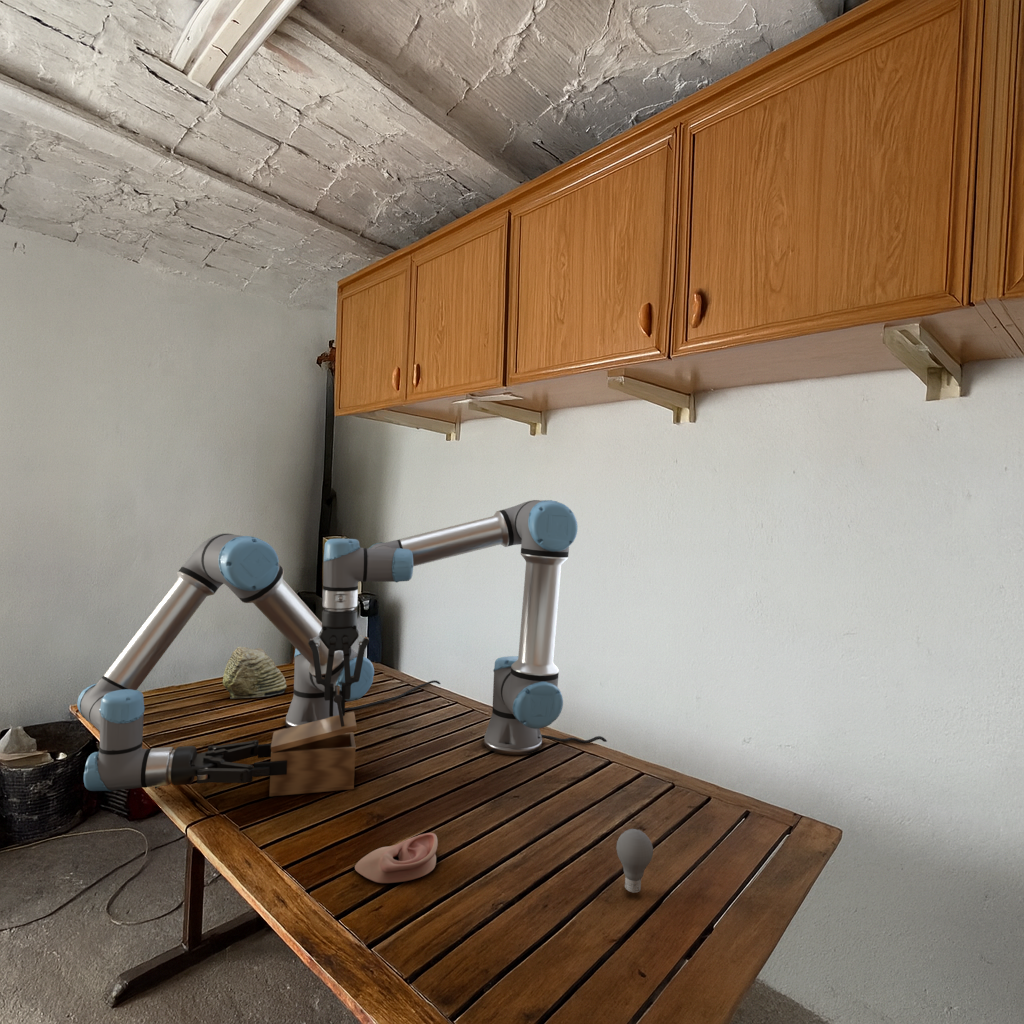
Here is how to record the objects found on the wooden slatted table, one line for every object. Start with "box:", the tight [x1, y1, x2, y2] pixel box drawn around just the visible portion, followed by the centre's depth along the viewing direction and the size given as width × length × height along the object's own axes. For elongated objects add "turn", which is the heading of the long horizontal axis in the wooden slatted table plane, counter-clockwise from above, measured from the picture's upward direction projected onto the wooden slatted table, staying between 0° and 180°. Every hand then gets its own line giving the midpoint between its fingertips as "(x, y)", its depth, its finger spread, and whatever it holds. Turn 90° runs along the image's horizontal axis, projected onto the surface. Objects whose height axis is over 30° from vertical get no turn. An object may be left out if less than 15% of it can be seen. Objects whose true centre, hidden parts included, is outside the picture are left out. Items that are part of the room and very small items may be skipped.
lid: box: [270, 685, 358, 753], centre depth 139 cm, size 18×9×8 cm, turn 107°
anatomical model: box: [354, 832, 439, 884], centre depth 110 cm, size 13×4×12 cm
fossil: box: [222, 646, 288, 699], centre depth 198 cm, size 9×18×15 cm, turn 132°
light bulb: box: [615, 828, 654, 894], centre depth 106 cm, size 6×6×10 cm
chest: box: [268, 731, 356, 797], centre depth 140 cm, size 17×9×9 cm, turn 107°
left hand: (287, 757), depth 138 cm, fingers closed on chest, 9 cm apart
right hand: (336, 713), depth 141 cm, fingers closed on lid, 2 cm apart
